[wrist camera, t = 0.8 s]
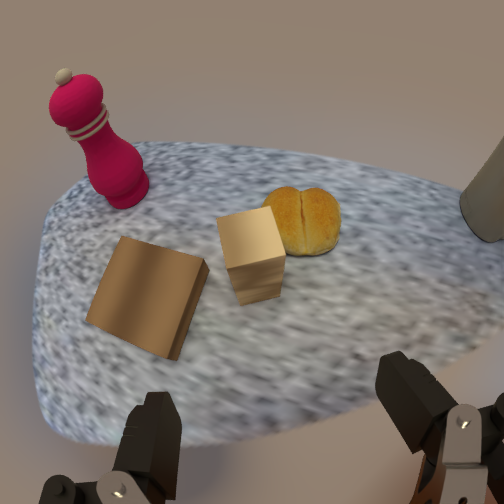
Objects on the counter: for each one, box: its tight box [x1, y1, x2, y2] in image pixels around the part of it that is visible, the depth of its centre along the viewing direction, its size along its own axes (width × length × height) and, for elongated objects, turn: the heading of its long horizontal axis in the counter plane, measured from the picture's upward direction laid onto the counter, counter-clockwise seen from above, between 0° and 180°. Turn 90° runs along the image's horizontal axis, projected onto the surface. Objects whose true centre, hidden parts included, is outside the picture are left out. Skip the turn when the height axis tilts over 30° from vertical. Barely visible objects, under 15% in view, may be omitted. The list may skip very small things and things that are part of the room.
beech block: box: [216, 206, 286, 306], centre depth 24 cm, size 4×4×10 cm
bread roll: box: [261, 186, 341, 256], centre depth 29 cm, size 8×9×4 cm
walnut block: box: [85, 236, 209, 361], centre depth 26 cm, size 10×10×3 cm
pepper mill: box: [49, 68, 149, 209], centre depth 25 cm, size 7×7×20 cm
